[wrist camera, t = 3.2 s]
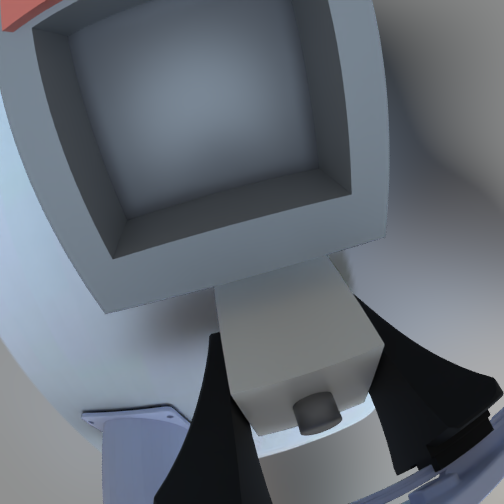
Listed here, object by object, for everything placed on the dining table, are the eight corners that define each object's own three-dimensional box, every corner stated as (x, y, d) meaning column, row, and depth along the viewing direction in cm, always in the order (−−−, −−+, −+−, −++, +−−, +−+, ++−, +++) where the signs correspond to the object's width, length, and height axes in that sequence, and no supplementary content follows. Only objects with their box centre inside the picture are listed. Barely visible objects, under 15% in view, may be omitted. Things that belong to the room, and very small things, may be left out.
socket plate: (349, 202, 10) (393, 245, 8) (118, 266, 10) (102, 326, 7) (309, -56, 4) (353, -90, 2) (32, 15, 4) (-20, 4, 1)
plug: (323, 319, 14) (372, 421, 9) (238, 344, 14) (263, 457, 9) (322, 248, 11) (400, 370, 6) (212, 278, 11) (236, 426, 6)
